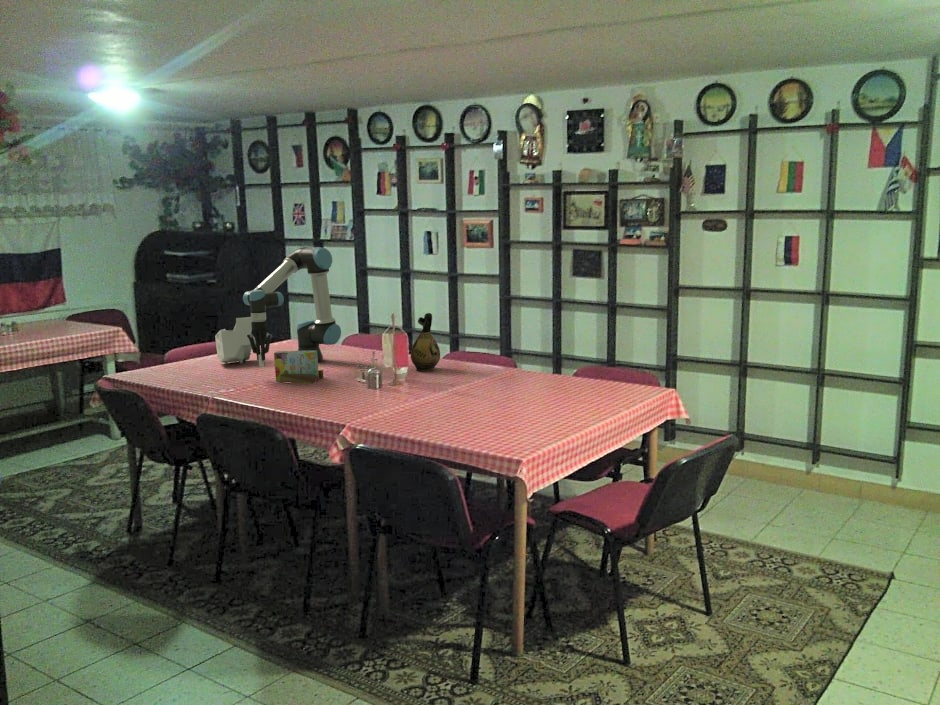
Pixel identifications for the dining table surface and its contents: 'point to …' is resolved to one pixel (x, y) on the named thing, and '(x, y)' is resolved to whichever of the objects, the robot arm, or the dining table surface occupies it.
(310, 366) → the snack box
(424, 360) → the ceramic jug
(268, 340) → the robot arm
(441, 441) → the dining table surface
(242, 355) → the grey stepped block
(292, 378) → the walnut chute
